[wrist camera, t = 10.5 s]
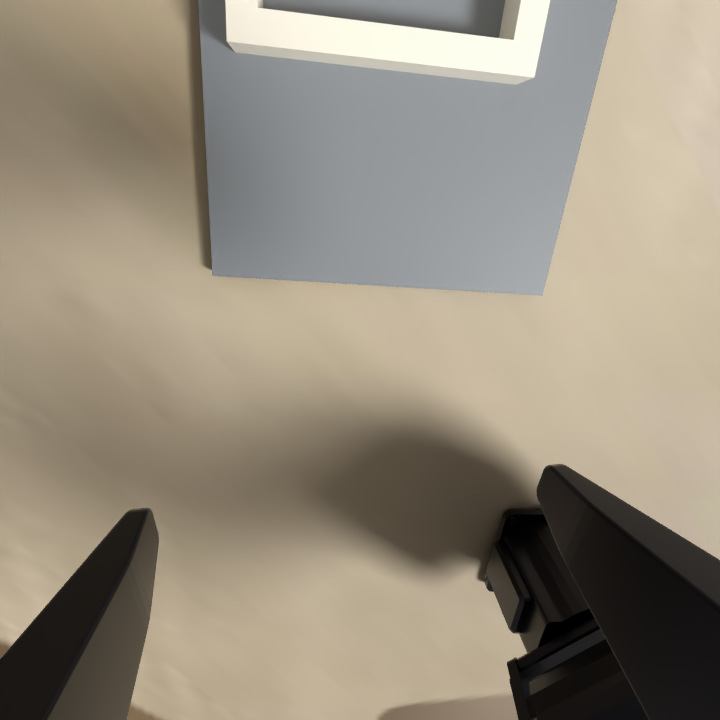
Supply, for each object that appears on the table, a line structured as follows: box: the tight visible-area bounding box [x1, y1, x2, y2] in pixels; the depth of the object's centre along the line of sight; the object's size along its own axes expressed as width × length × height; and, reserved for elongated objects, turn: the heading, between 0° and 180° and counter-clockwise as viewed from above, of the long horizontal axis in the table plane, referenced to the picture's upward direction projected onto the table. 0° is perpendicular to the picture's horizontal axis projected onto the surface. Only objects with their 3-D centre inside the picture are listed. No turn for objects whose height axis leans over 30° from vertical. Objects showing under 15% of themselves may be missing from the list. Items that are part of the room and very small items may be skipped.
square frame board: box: [198, 0, 617, 296], centre depth 16 cm, size 15×19×2 cm
